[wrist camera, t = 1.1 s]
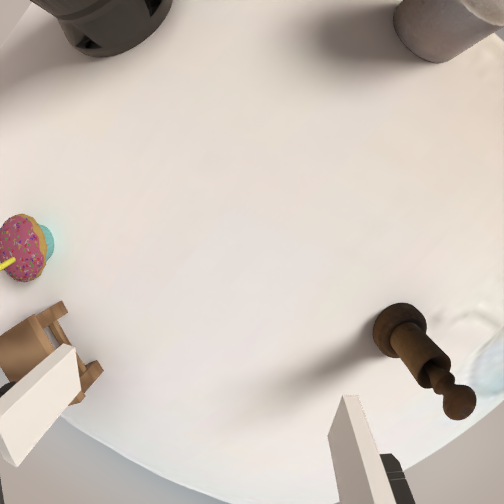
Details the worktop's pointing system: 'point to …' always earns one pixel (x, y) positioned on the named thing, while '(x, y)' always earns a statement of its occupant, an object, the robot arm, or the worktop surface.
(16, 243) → the cupcake
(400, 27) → the pillar candle
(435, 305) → the worktop surface
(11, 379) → the walnut stool
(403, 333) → the brown chess pawn
